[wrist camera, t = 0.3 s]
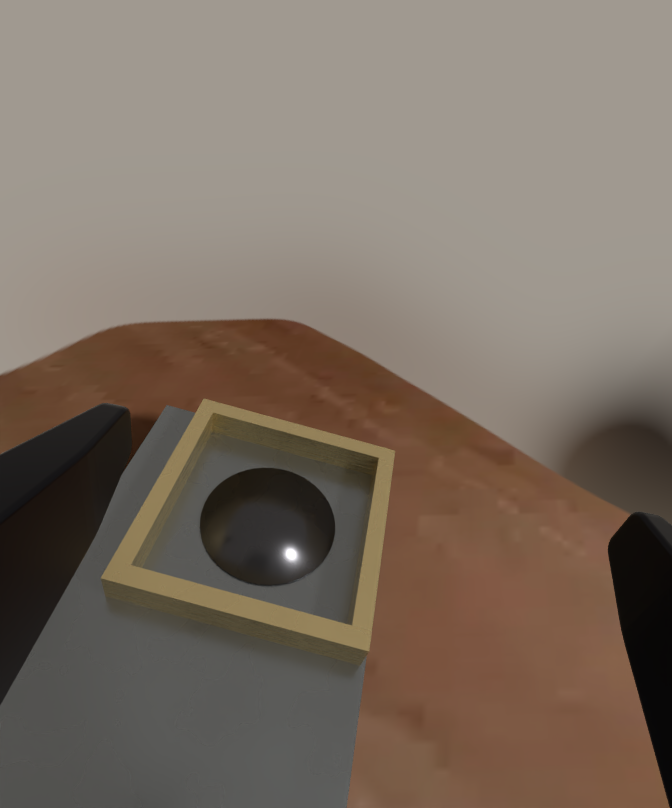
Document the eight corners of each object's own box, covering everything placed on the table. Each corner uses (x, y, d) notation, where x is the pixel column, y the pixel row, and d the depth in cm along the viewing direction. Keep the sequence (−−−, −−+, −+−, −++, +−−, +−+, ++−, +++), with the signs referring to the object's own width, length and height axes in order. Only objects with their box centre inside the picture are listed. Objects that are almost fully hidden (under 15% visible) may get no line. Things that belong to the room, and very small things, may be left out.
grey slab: (277, 1193, 13) (300, 1261, 10) (-211, 1060, 13) (-317, 1093, 10) (380, 492, 30) (398, 448, 27) (168, 435, 30) (165, 385, 27)
